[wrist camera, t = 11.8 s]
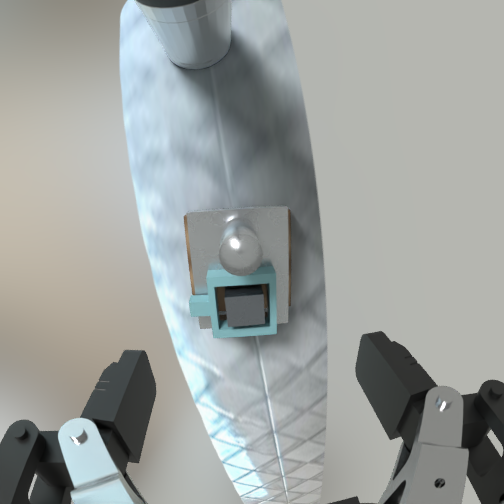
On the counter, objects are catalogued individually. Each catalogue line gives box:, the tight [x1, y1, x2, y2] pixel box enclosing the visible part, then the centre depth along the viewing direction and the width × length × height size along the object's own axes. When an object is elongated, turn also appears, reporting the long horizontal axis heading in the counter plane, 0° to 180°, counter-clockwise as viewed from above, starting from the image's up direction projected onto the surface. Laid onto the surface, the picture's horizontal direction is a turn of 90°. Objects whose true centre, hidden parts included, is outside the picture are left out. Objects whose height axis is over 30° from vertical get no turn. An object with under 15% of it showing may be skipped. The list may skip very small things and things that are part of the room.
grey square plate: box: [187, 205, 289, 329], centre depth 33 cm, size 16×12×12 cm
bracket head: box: [189, 266, 277, 338], centre depth 35 cm, size 8×11×2 cm
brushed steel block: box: [225, 284, 265, 327], centre depth 36 cm, size 4×4×7 cm
